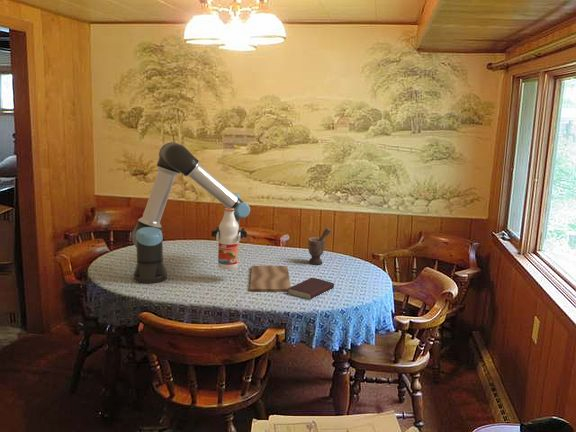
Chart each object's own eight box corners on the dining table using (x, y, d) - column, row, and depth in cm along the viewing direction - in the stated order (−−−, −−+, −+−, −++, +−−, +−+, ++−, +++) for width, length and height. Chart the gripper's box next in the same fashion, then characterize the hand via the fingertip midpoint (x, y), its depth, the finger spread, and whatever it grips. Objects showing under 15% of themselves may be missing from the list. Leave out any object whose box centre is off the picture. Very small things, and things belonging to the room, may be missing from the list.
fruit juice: (242, 266, 252) (243, 208, 247) (231, 271, 244) (232, 211, 239) (225, 263, 257) (226, 205, 251) (214, 267, 248) (214, 208, 243)
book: (334, 289, 243) (334, 282, 242) (311, 300, 227) (311, 293, 227) (311, 283, 250) (311, 277, 249) (287, 294, 234) (287, 287, 234)
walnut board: (250, 291, 235) (250, 288, 235) (251, 267, 271) (251, 265, 270) (290, 291, 236) (291, 289, 236) (287, 268, 272) (287, 265, 271)
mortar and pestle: (330, 262, 285) (331, 225, 281) (328, 266, 276) (330, 229, 272) (308, 260, 286) (310, 224, 283) (306, 265, 278) (307, 227, 274)
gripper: (252, 235, 267) (252, 246, 245) (208, 234, 265) (203, 245, 243) (253, 220, 265) (252, 230, 243) (208, 219, 264) (204, 229, 242)
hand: (228, 238), depth 243 cm, fingers closed on fruit juice, 9 cm apart
